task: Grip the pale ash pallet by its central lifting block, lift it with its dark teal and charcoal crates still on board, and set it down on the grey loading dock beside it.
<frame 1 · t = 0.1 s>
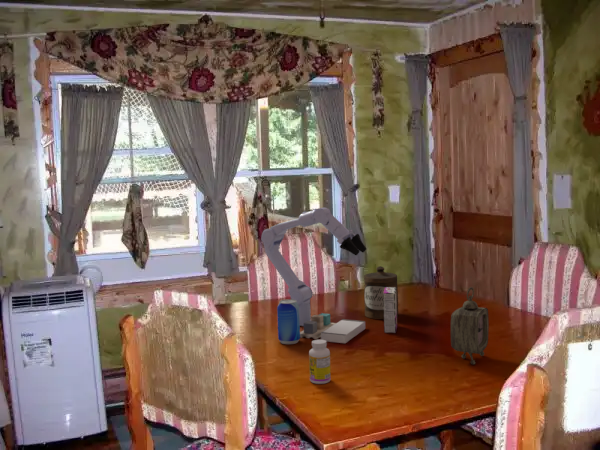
hand: (361, 252, 252), 32 cm above the table, tool tilted 50°, fingers open, 7 cm apart
pallet: (317, 332, 254), on the table, touching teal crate
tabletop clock: (469, 359, 214), on the table
beer can: (289, 342, 242), on the table
wooden container: (381, 315, 278), on the table
dock: (343, 334, 249), on the table
candy bar box: (390, 329, 255), on the table
charcoal crate: (310, 332, 248), point 2 cm above the table
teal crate: (324, 324, 260), point 2 cm above the table, touching pallet
supplement bottle: (320, 381, 198), on the table
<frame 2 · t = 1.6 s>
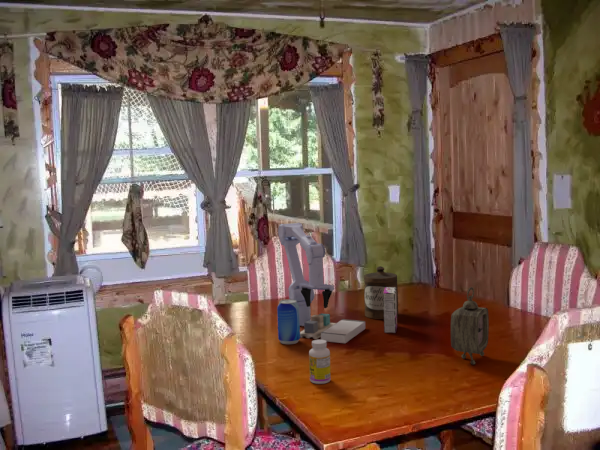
hand: (317, 307, 253), 10 cm above the table, tool pointing down, fingers open, 7 cm apart
pallet: (317, 332, 254), on the table, touching charcoal crate
charcoal crate: (311, 331, 249), point 2 cm above the table, touching pallet
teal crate: (323, 324, 260), point 2 cm above the table
everything else where it was.
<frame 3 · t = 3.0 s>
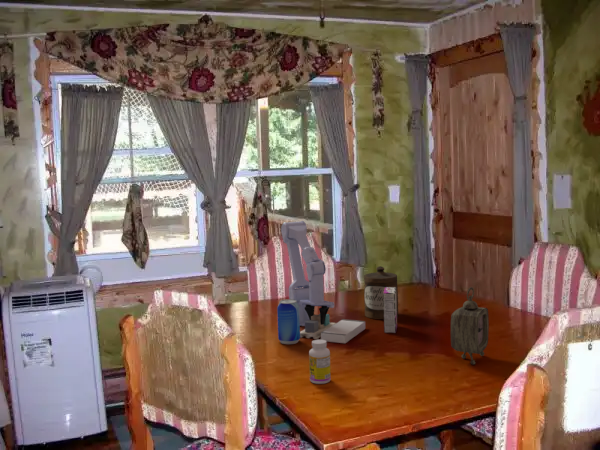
hand: (317, 323, 254), 3 cm above the table, tool pointing down, fingers closed on pallet, 4 cm apart
pallet: (317, 332, 254), on the table, touching charcoal crate, gripper, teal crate
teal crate: (323, 324, 259), point 2 cm above the table, touching pallet
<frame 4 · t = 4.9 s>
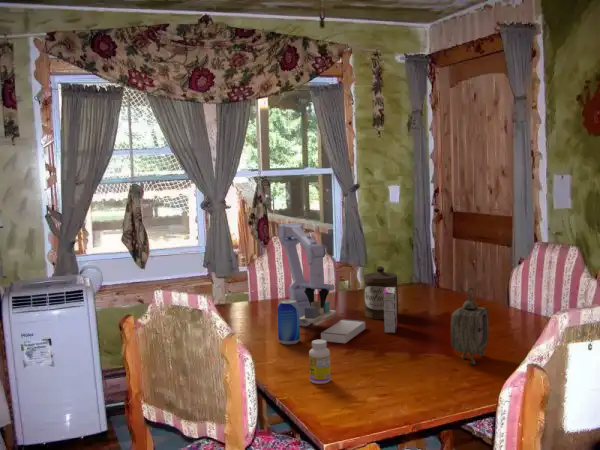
hand: (317, 306, 253), 10 cm above the table, tool pointing down, fingers closed on pallet, 4 cm apart
pallet: (317, 319, 253), point 5 cm above the table, touching charcoal crate, gripper, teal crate
charcoal crate: (311, 317, 248), point 7 cm above the table, touching pallet
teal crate: (323, 311, 258), point 7 cm above the table, touching pallet
everything else where it was.
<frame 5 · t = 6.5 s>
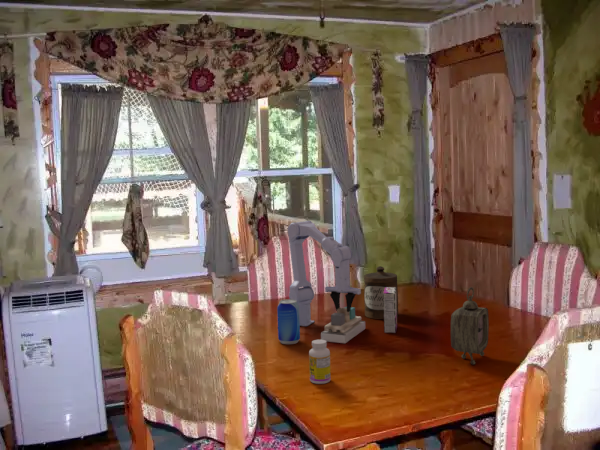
hand: (343, 310, 248), 10 cm above the table, tool pointing down, fingers closed on pallet, 4 cm apart
pallet: (343, 326, 249), point 4 cm above the table, touching charcoal crate, gripper, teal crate
charcoal crate: (338, 324, 244), point 6 cm above the table, touching pallet
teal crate: (348, 317, 254), point 5 cm above the table, touching pallet
everything else where it was.
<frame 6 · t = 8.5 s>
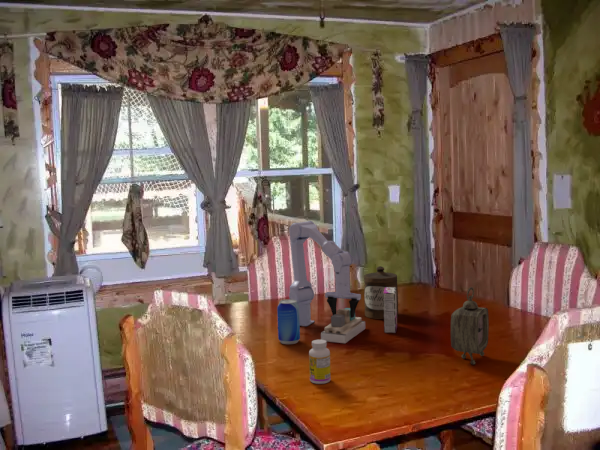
hand: (343, 316, 249), 7 cm above the table, tool pointing down, fingers open, 7 cm apart
pallet: (343, 327, 249), point 3 cm above the table, touching charcoal crate, dock, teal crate
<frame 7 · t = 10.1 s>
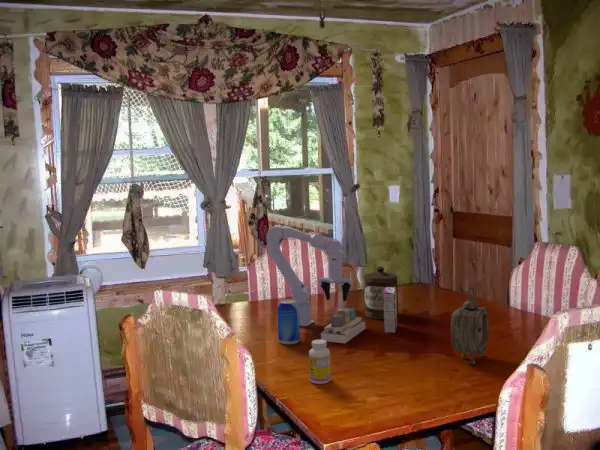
hand: (336, 300, 264), 10 cm above the table, tool pointing down, fingers open, 7 cm apart
nothing on the table moved.
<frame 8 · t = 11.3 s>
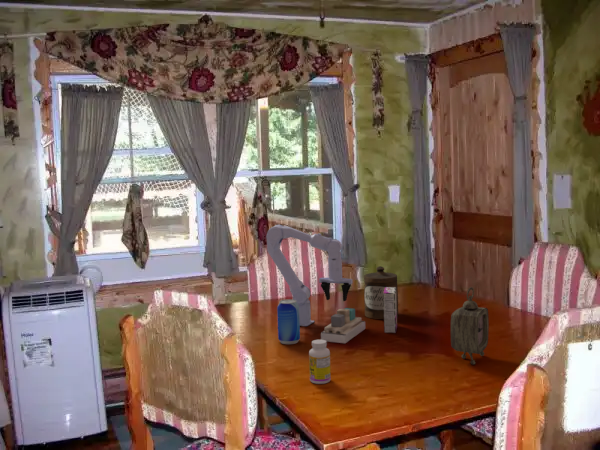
hand: (336, 300, 264), 10 cm above the table, tool pointing down, fingers open, 7 cm apart
nothing on the table moved.
at the end: pallet inside the target area (0.2 cm from its centre), point 3.0 cm above the table; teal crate inside the target area on the pallet (0.8 cm from its centre), point 2.0 cm above the pallet's base; charcoal crate inside the target area on the pallet (1.1 cm from its centre), point 2.0 cm above the pallet's base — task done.
